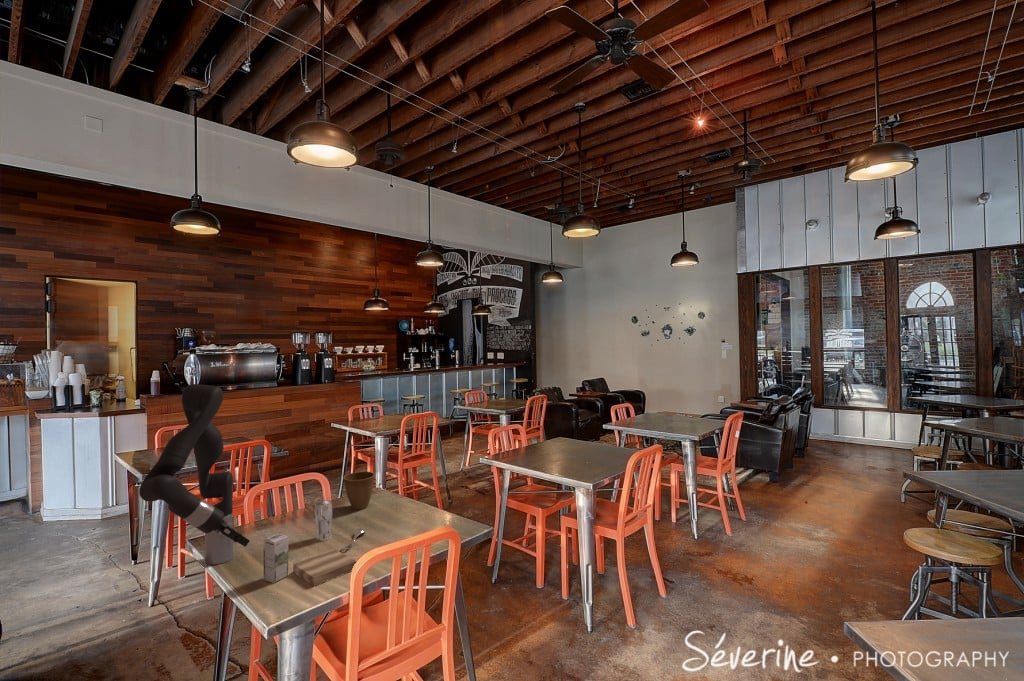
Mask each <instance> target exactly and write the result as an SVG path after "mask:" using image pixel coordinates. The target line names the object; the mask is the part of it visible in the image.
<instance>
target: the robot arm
mask: <svg viewBox="0 0 1024 681" xmlns="http://www.w3.org/2000/svg"><path fill="white" fill-rule="evenodd" d="M223 401H224V392H223V389H222V387H221V388H220V386H213V385H208V384H198V383H190V384H188V385H186V386H185V387H184V389H183V390H182V394H181V403H182V404H181V405H182V409H183V412H184V415H185V418H186V421H187V423H188V425H186V426H185V427H184V428H182V429H181V430H180V431H178V432H177V433H176V434H174V435H173V436H172V437H171V438H170V439H169V440H168V442H167V444H166V445H165V447H164V449H163V451H162V453H161V455H160V456H159V458H158V460H157V462H156V463H155V464H154V465H153V467H152V468H151V469H150V470H149V472H148V473H147V474H146V476H145V477H144V478H143V480H142V482H141V484H140V486H139V490H138V491H139V492H138V494H139V497H140V498H141V499H142V500H143V501H145V502H148V503H149V502H150V503H151V502H152V503H153V502H157V501H163V502H165V503H166V504H167V508H168V510H169V511H170V512H171V513H173V514H174V515H175V516H177V517H179V518H180V519H182V520H183V521H184V522H186V523H187V524H189V525H191V526H192V527H194V528H196V529H197V530H199V531H201V532H202V533H204V558H205V559H204V561H205V564H206V565H211V566H212V565H213V566H214V565H219V564H220V565H221V564H224V563H226V562H228V561H231V560H232V559H233V558H234V543H238V544H240V545H241V546H243V547H247V546H248V544H249V543H250V539H248V538H247V537H245V536H244V535H243V534H242V533H240V532H238V531H237V528H235V527H234V524H233V520H234V518H233V516H234V514H233V512H234V511H233V509H234V508H233V494H234V491H233V490H234V476H233V473H232V472H231V471H223V472H215V473H214V472H213V473H211V472H210V471H211V469H212V468H213V466H214V465H215V464H216V463H217V461H218V460H219V459H220V458H221V456H222V454H223V453H224V442H223V440H224V439H223V435H222V433H221V431H220V430H219V428H218V427H217V426H216V425H215V424H214V423H213V422H212V420H213V418H214V417H215V416H216V415H217V413H218V411H219V409H220V408H221V406H222V403H223ZM192 450H193V453H194V459H195V463H196V467H197V474H198V475H197V476H198V490H199V494H200V496H201V498H200V497H199V496H197V495H196V494H194V493H192V492H190V491H189V490H188V488H187V487H186V486H185V485H184V484H183V483H182V482H181V481H180V480H179V479H178V478H176V477H175V474H177V473H178V472H180V471H181V470H182V469H183V468H184V466H185V465H186V463H187V460H188V458H189V456H190V454H191V452H192ZM217 498H222V499H221V500H220V501H218V502H217V503H214V504H211V503H210V502H209V501H207V500H208V499H217ZM204 499H205V500H204ZM206 499H207V500H206Z"/></svg>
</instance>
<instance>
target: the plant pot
mask: <svg viewBox="0 0 1024 681" xmlns="http://www.w3.org/2000/svg"><path fill="white" fill-rule="evenodd" d="M374 482H375V473H374V472H372V471H356V472H352V473H347V474H346V475H344V476H343V483H344V488H345V489H344V490H345V492H346V495H347V499H348V501H349V503H350V506H351V509H352V510H355V511H360V510H364V509H365V510H366V508H368V506H369V504H370V501H371V497H372V492H373V488H374Z"/></svg>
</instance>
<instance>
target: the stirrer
mask: <svg viewBox="0 0 1024 681" xmlns="http://www.w3.org/2000/svg"><path fill="white" fill-rule="evenodd" d="M366 532H367V530H365V529H363V528H358V529H355V530H354V531H353V533H354V537H353V539H352V541H351V542H350V543H349V544H348V545H345V546H343V547H340V550H351V549H352V548H353V545H354V544H355V542H356V540H357V537H359V535H361V534H363V533H366Z"/></svg>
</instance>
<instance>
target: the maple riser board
mask: <svg viewBox="0 0 1024 681" xmlns="http://www.w3.org/2000/svg"><path fill="white" fill-rule="evenodd" d="M356 562H358V561H357V560H356V559H353V558H352V557H350V556H348V555H346V554H345V553H343V552H341V551H339V550H337V549H335V548H334V549H329V550H328V551H325V552H322V553H319V554H317V555H313V556H311V557H307V558H305V559H302V560H300V561H297V562H294V563H292V570H293V571H292V572H293V573H294V574H295V575H297V576H298V577H300V578H301V579H303V580H304V581H305V582H307V583H309V584H310V585H312V586H313V587H314V586H315V587H316V585H317V586H319V585H318V584H320V585H321V583H322V584H324V583H326V582H325V581H327V580H329V581H331V580H330V579H332V578H334V579H336V578H335V577H337V576H339V577H341V576H340V575H342V574H344V575H346V574H345V573H347V574H349V573H352V572H351V570H352V568H353V566H354V564H355V563H356ZM342 576H343V575H342ZM337 578H338V577H337ZM332 580H333V579H332ZM323 582H324V583H323ZM327 582H328V581H327Z"/></svg>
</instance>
